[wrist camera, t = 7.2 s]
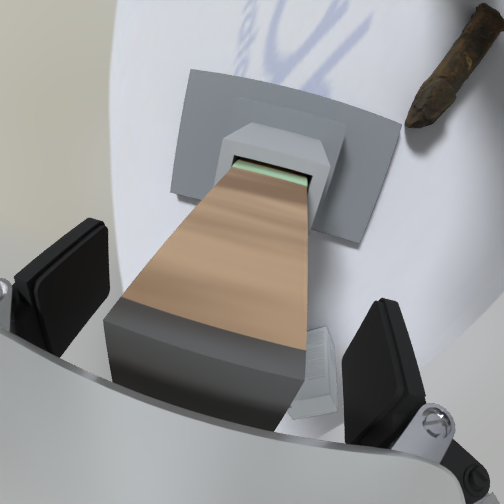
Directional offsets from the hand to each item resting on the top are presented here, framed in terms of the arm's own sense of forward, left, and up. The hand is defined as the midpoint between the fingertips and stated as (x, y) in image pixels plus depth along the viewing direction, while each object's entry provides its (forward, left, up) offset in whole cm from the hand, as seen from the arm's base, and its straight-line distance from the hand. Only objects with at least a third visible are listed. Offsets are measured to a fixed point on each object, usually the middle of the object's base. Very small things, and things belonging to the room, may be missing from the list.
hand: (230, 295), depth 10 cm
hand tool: (-16, +16, -26) cm, 34 cm away
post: (0, 0, -12) cm, 12 cm away
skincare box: (+24, +11, -26) cm, 37 cm away
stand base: (0, 0, -25) cm, 25 cm away
